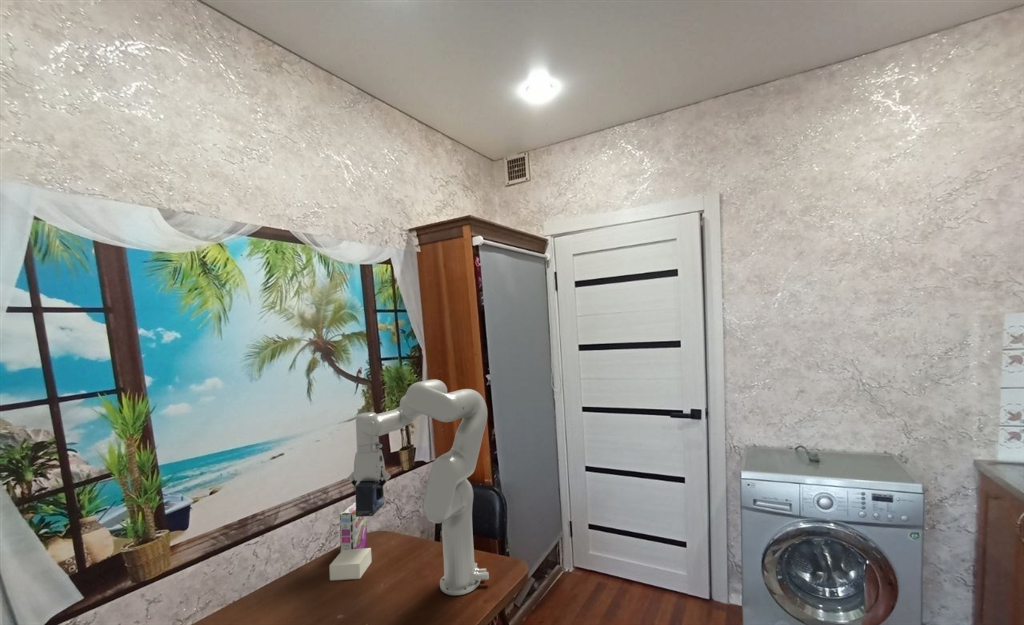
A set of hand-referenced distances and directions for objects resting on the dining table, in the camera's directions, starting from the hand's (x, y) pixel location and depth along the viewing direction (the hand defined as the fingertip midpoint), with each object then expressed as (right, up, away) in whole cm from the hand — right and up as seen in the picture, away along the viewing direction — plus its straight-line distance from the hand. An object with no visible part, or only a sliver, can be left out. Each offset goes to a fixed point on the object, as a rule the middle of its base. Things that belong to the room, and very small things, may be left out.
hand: (370, 498), depth 142 cm
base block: (-4, -22, -7) cm, 23 cm away
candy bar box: (-8, -23, +5) cm, 25 cm away
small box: (0, -4, 0) cm, 4 cm away
